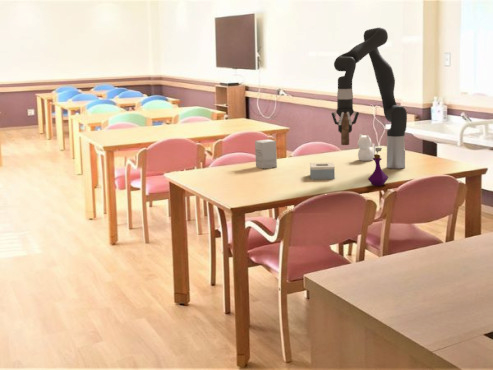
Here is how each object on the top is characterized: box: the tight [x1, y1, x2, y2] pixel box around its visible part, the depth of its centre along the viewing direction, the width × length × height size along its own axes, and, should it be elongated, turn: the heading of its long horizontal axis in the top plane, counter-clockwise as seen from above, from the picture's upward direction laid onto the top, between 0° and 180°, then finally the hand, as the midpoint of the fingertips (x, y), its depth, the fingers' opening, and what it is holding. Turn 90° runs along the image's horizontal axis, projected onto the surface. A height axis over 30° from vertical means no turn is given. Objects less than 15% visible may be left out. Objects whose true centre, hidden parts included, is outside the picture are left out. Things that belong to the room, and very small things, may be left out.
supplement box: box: [254, 138, 278, 169], centre depth 397 cm, size 9×9×15 cm
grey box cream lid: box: [309, 162, 336, 180], centre depth 366 cm, size 12×12×6 cm
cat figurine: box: [357, 133, 377, 162], centre depth 408 cm, size 9×12×15 cm
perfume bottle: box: [367, 147, 389, 187], centre depth 341 cm, size 8×8×18 cm
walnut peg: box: [340, 113, 350, 146], centre depth 355 cm, size 4×4×16 cm
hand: (345, 132), depth 355 cm, fingers closed on walnut peg, 4 cm apart
